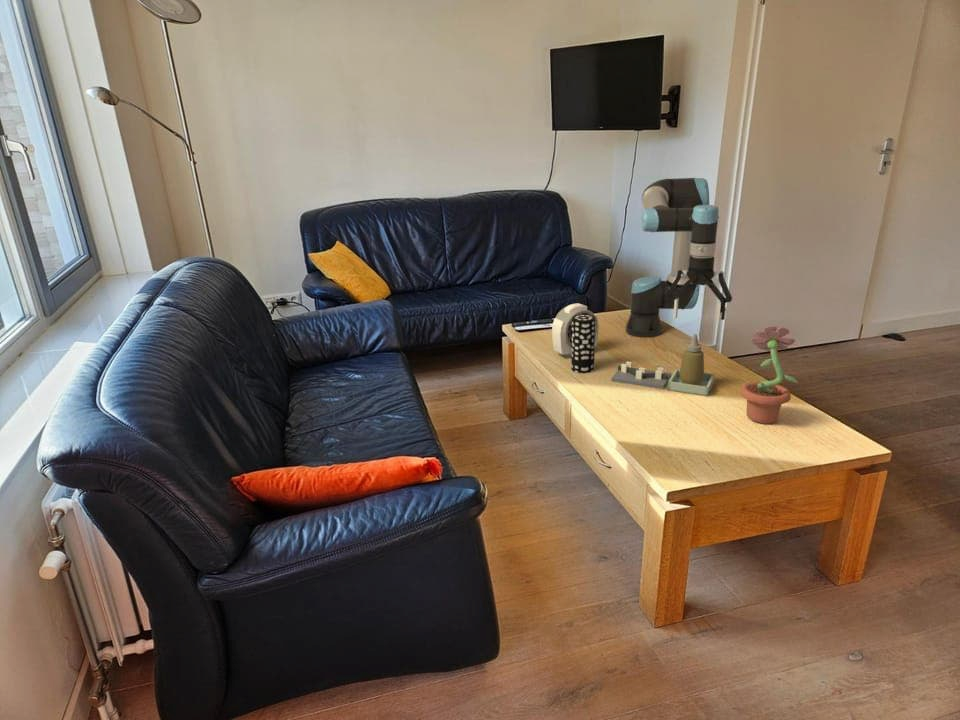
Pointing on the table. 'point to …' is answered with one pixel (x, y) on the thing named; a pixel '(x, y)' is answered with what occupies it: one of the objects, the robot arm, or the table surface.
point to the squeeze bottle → (692, 364)
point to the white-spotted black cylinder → (583, 343)
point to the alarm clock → (568, 328)
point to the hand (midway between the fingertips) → (696, 319)
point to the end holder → (703, 389)
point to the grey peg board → (641, 376)
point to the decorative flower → (768, 394)
